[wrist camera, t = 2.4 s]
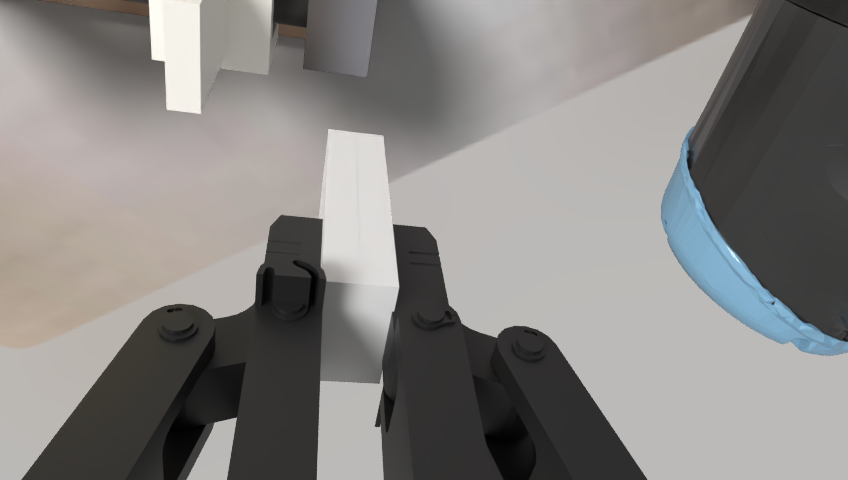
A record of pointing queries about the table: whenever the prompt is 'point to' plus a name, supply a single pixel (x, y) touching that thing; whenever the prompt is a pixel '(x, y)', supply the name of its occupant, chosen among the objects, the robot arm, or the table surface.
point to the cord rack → (301, 29)
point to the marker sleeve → (209, 44)
